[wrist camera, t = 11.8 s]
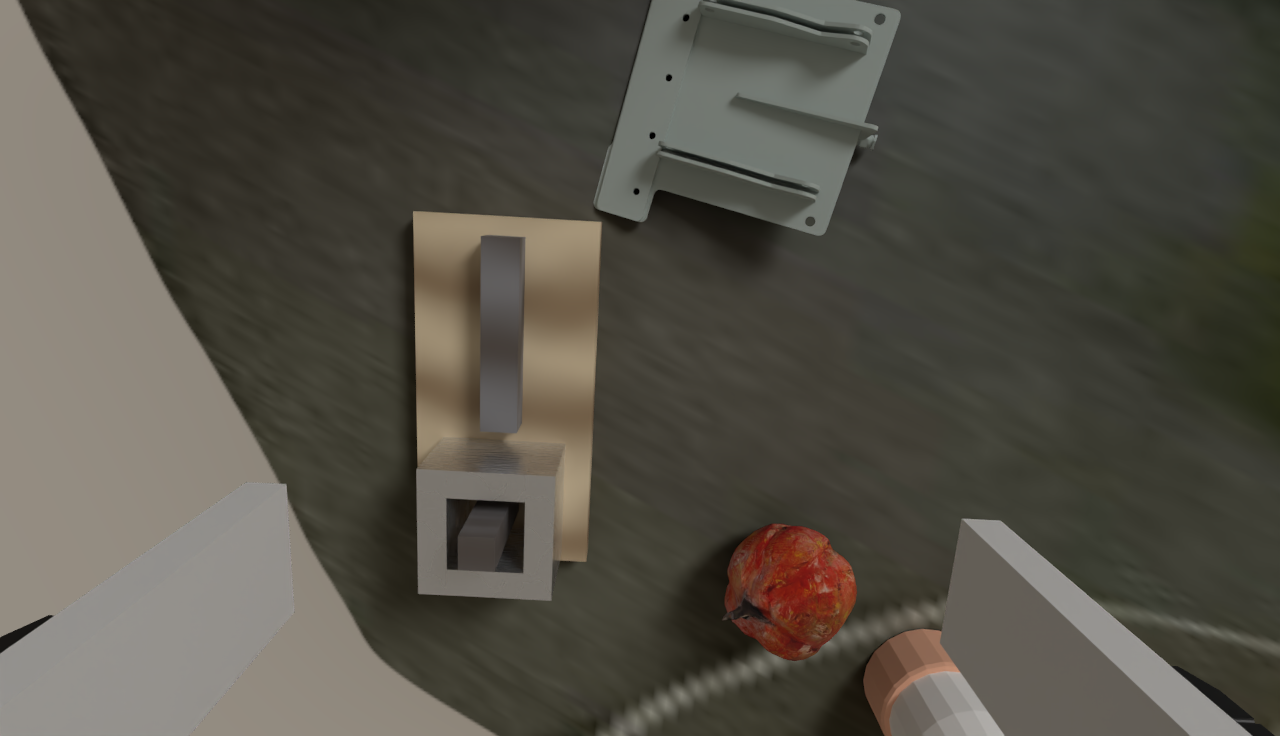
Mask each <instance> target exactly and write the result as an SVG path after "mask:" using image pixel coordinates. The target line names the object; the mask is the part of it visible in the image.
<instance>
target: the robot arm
mask: <svg viewBox="0 0 1280 736" xmlns="http://www.w3.org/2000/svg"><path fill="white" fill-rule="evenodd" d="M293 613H294V596H293V581H292V565H291V549H290V534H289V520H288V503H287V487H286V484H273V483H251V482H246V483H244V484H243V485H241V486H240V487H239V488H237V489H236V490H234V491H233V492H231V493H230V494H228V495H227V496H226V497H224V498H223V499H222V500H220V501H218V502H217V503H216V504H214V505H213V506H212V507H210V508H208V509H207V510H206V511H204V512H203V513H201V514H200V515H198V516H197V517H195V518H194V519H193V520H191V521H190V522H188V523H187V524H186V525H184V526H183V527H181V528H180V529H178V530H177V531H175V532H174V533H173V534H171V535H170V536H168V537H167V538H165V539H164V540H162V541H161V542H160V543H158V544H157V545H155V546H154V547H153V548H151V549H150V550H148V551H147V552H145V553H144V554H142V555H141V556H139V557H138V558H137V559H135V560H134V561H132V562H131V563H129V564H128V565H127V566H125V567H124V568H122V569H121V570H120V571H118V572H117V573H115V574H114V575H112V576H111V577H109V578H108V579H106V580H105V581H104V582H102V583H101V584H99V585H98V586H96V587H95V588H94V589H92V590H91V591H89V592H88V593H86V594H85V595H84V596H82V597H81V598H79V599H78V600H76V601H75V602H73V603H72V604H71V605H69V606H68V607H66V608H65V609H63V610H62V611H61V612H59V613H58V614H56V615H55V616H52V615H48V616H46V617H44V618H42V619H40V620H37V621H35V622H33V623H31V624H29V625H26V626H24V627H22V628H20V629H17V630H15V631H13V632H11V633H8V634H6V635H4V636H2V637H1V638H0V736H189V735H190V734H191V733H192V732H193V731H194V730H195V728H196V727H197V726H198V725H199V724H200V722H201V721H202V720H203V719H204V718H205V716H206V715H207V714H208V713H209V712H210V711H211V709H212V708H213V707H214V706H215V705H216V704H217V702H218V701H219V700H220V699H221V698H222V696H223V695H224V694H225V693H226V692H227V691H228V689H229V688H230V687H231V686H232V684H233V683H235V681H236V680H237V679H238V678H239V677H240V675H241V674H242V673H243V672H244V671H245V670H246V668H247V667H248V666H249V665H250V664H251V662H252V661H253V660H254V659H255V658H256V656H257V655H258V654H259V653H260V652H261V651H262V650H263V648H264V647H265V646H266V645H267V644H268V643H269V641H270V640H271V639H272V638H273V637H274V635H275V634H276V633H277V632H278V631H279V630H280V628H281V627H282V626H283V625H284V624H285V623H286V621H287V620H288V619H289V618H290V617H291V616H292V614H293ZM940 644H941V645H942V647H943V648H944V650H945V651H946V653H947V654H948V655H949V657H950V658H951V660H952V661H953V663H954V664H955V665H956V667H957V668H958V670H959V671H960V673H961V674H962V675H963V677H964V678H965V680H966V681H967V683H968V684H969V685H970V687H971V688H972V690H973V691H974V693H975V694H976V695H977V697H978V698H979V700H980V701H981V703H982V704H983V705H984V707H985V708H986V710H987V711H988V713H989V714H990V715H991V717H992V718H993V720H994V721H995V723H996V724H997V725H998V727H999V728H1000V730H1001V731H1002V733H1003V734H1004V735H1005V736H1274V735H1273V734H1272V733H1271V732H1269V731H1268V730H1267V729H1266V728H1265V727H1263V726H1262V725H1261V724H1255V723H1254V718H1252V717H1251V716H1250V715H1249V714H1248V713H1246V712H1245V711H1244V710H1243V709H1242V708H1240V707H1239V706H1238V705H1237V704H1235V703H1234V702H1233V701H1232V700H1231V699H1229V698H1228V697H1227V696H1226V695H1225V694H1223V693H1222V692H1221V691H1220V690H1218V689H1216V688H1214V687H1213V686H1211V685H1209V684H1207V683H1206V682H1204V681H1202V680H1200V679H1199V678H1197V677H1195V676H1194V675H1192V674H1190V673H1188V672H1187V671H1185V670H1183V669H1181V668H1180V667H1178V666H1170V665H1169V664H1168V663H1166V662H1165V661H1164V660H1163V659H1162V658H1161V657H1159V656H1158V655H1157V654H1156V653H1155V652H1154V651H1152V650H1151V649H1150V648H1149V647H1148V646H1147V645H1145V644H1144V643H1143V642H1142V641H1141V640H1140V639H1138V638H1137V637H1136V636H1135V635H1134V634H1132V633H1131V632H1130V631H1129V630H1128V629H1127V628H1125V627H1124V626H1123V625H1122V624H1121V623H1120V622H1118V621H1117V620H1116V619H1115V618H1114V617H1113V616H1111V615H1110V614H1109V613H1108V612H1107V611H1106V610H1104V609H1103V608H1102V607H1101V606H1100V605H1099V604H1097V603H1096V602H1095V601H1094V600H1093V599H1091V598H1090V597H1089V596H1088V595H1087V594H1086V593H1084V592H1083V591H1082V590H1081V589H1080V588H1079V587H1077V586H1076V585H1075V584H1074V583H1073V582H1072V581H1070V580H1069V579H1068V578H1067V577H1066V576H1065V575H1063V574H1062V573H1061V572H1060V571H1059V570H1058V569H1056V568H1055V567H1054V566H1053V565H1052V564H1051V563H1049V562H1048V561H1047V560H1046V559H1045V558H1043V557H1042V556H1041V555H1040V554H1039V553H1038V552H1036V551H1035V550H1034V549H1033V548H1032V547H1031V546H1029V545H1028V544H1027V543H1026V542H1025V541H1024V540H1022V539H1021V538H1020V537H1019V536H1018V535H1017V534H1015V533H1014V532H1013V531H1012V530H1011V529H1010V528H1008V527H1007V526H1006V525H1005V524H1004V523H1002V522H1001V521H997V520H977V519H962V520H961V525H960V531H959V537H958V542H957V548H956V554H955V559H954V565H953V571H952V576H951V582H950V587H949V593H948V599H947V604H946V610H945V616H944V621H943V627H942V633H941V638H940Z"/></svg>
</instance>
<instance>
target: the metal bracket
mask: <svg viewBox="0 0 1280 736" xmlns="http://www.w3.org/2000/svg"><path fill="white" fill-rule="evenodd" d="M685 15H689V16H690V17H689V20H688V21H686V22H685V21H683V17H684V16H685ZM878 15H883V16H884V17H885V22H884V23H883V24H882V25H877V24H875V22H874V19H875V17H876V16H878ZM900 17H901V14H900V12H899V11H898V10H896V9H892V8H888V7H883V6H879V5H874V4H869V3H865V2H860V1H856V0H651V4H650V8H649V11H648V15H647V19H646V22H645V26H644V30H643V33H642V37H641V41H640V44H639V48H638V52H637V55H636V59H635V62H634V66H633V70H632V73H631V77H630V81H629V84H628V88H627V92H626V95H625V99H624V103H623V106H622V110H621V114H620V117H619V121H618V125H617V128H616V132H615V136H614V139H613V142H612V144H611V145H610V146H609V147H608V151H607V154H606V158H605V162H604V165H603V169H602V173H601V177H600V180H599V184H598V188H597V191H596V195H595V199H594V206H595V207H596V208H597V209H599V210H602V211H605V212H608V213H611V214H615V215H618V216H621V217H624V218H628V219H631V220H634V221H637V222H644V221H645V220H646V219H647V216H648V213H649V210H650V206H651V203H652V199H653V196H654V194H655V192H656V191H657V190H664V191H668V192H671V193H674V194H678V195H681V196H684V197H688V198H691V199H695V200H698V201H701V202H705V203H708V204H712V205H715V206H718V207H722V208H725V209H728V210H732V211H735V212H739V213H742V214H745V215H749V216H752V217H756V218H759V219H762V220H766V221H769V222H773V223H776V224H779V225H783V226H786V227H789V228H793V229H796V230H800V231H803V232H806V233H810V234H813V235H817V236H821V235H823V234H824V233H825V231H826V229H827V227H828V224H829V221H830V218H831V215H832V212H833V209H834V207H835V204H836V201H837V198H838V195H839V192H840V189H841V187H842V184H843V181H844V178H845V175H846V172H847V170H848V167H849V164H850V161H851V158H852V155H853V152H854V150H855V147H856V145H860V146H859V147H862V148H866V147H867V148H870V147H871V146H872V147H871V149H870V150H873V148H874V145H875V142H876V139H877V136H878V135H875V138H874V136H873V134H874V133H875V132H877V130H878V126H875V125H872V124H868V123H864V121H865V118H866V115H867V113H868V110H869V107H870V104H871V101H872V98H873V95H874V93H875V90H876V87H877V84H878V81H879V78H880V76H881V73H882V70H883V67H884V64H885V61H886V58H887V56H888V53H889V50H890V47H891V44H892V41H893V38H894V36H895V33H896V30H897V27H898V24H899V21H900ZM668 75H672V80H671V81H666V77H667V76H668ZM651 133H655V134H656V137H655V138H654V139H650V134H651ZM636 188H638V189H639V190H640V192H639V194H638V195H635V194H634V190H635V189H636ZM809 216H810V217H814V218H815V220H816V221H815V224H814V225H813V226H812V227H808V226H807V225H806V224H805V220H806V218H807V217H809Z"/></svg>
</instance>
